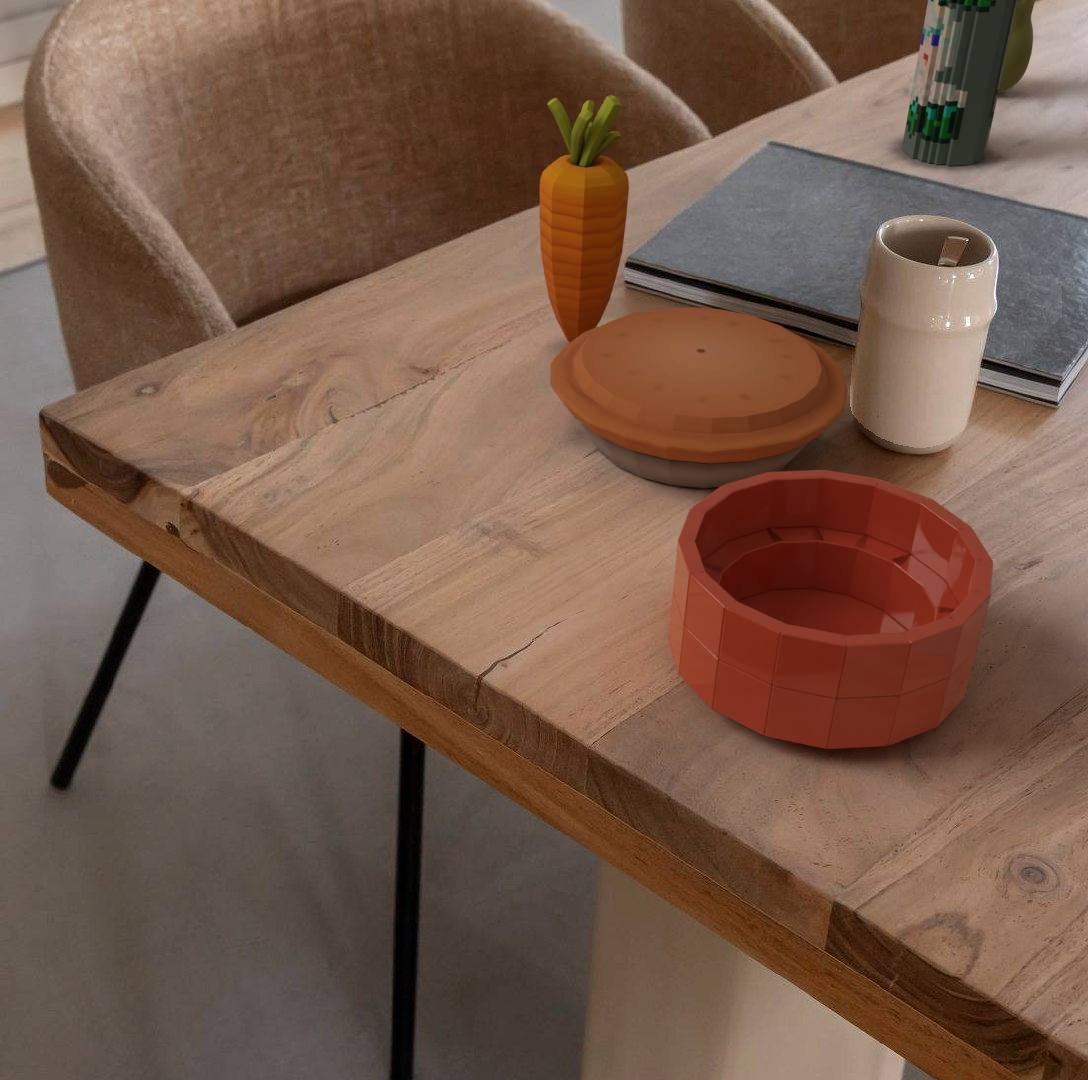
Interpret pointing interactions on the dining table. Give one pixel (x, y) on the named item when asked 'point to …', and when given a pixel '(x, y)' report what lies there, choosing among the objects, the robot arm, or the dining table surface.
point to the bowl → (827, 607)
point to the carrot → (583, 218)
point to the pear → (1018, 46)
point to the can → (957, 80)
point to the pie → (698, 394)
